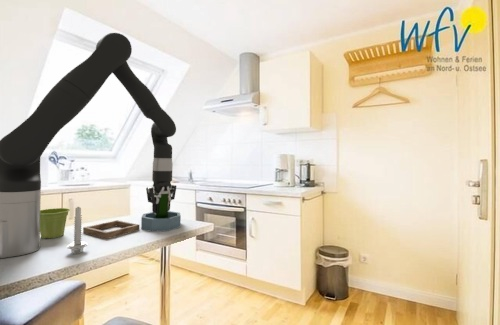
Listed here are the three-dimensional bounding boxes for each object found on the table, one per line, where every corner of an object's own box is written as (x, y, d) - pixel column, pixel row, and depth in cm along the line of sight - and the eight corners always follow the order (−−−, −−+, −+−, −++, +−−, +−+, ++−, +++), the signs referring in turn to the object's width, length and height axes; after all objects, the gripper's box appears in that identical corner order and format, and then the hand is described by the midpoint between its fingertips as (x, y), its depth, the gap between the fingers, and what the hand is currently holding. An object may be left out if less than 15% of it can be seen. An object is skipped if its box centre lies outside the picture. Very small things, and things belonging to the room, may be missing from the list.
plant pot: (41, 242, 80) (41, 214, 80) (29, 237, 85) (29, 211, 85) (74, 235, 88) (75, 210, 88) (61, 230, 93) (62, 207, 93)
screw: (90, 249, 75) (80, 255, 70) (73, 249, 75) (62, 255, 70) (91, 205, 75) (81, 208, 70) (74, 204, 75) (63, 208, 70)
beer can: (157, 222, 99) (158, 191, 99) (151, 220, 103) (152, 190, 103) (170, 220, 103) (171, 190, 103) (164, 218, 107) (165, 189, 106)
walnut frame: (106, 239, 85) (106, 233, 85) (83, 232, 91) (83, 227, 91) (139, 230, 96) (139, 224, 96) (117, 225, 102) (117, 220, 102)
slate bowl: (160, 233, 93) (160, 220, 93) (133, 227, 100) (134, 215, 100) (187, 224, 106) (187, 213, 106) (162, 220, 113) (162, 210, 113)
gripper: (155, 170, 95) (153, 216, 95) (182, 169, 107) (181, 210, 107) (141, 169, 98) (139, 213, 98) (168, 169, 111) (167, 208, 111)
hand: (161, 211), depth 103 cm, fingers closed on beer can, 5 cm apart
